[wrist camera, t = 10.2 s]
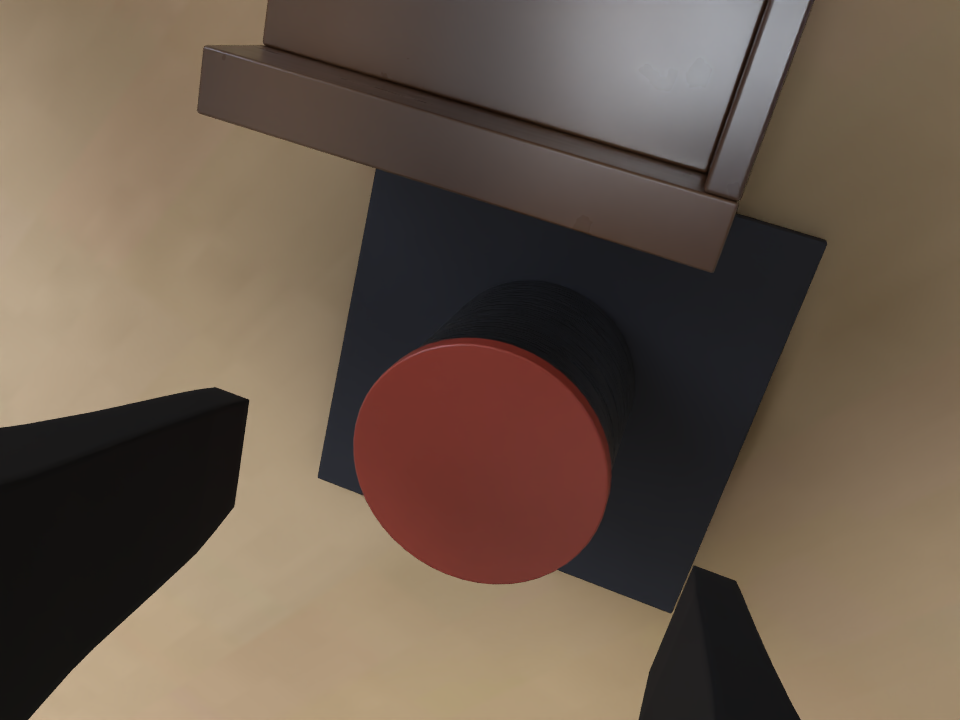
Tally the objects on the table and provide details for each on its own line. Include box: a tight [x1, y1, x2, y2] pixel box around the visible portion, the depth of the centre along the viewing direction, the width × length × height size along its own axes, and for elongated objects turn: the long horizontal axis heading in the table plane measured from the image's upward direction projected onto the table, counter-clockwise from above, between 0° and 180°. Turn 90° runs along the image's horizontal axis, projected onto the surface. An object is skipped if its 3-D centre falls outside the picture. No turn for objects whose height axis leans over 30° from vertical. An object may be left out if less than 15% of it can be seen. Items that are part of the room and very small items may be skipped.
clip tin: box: [353, 281, 635, 584], centre depth 18 cm, size 5×5×5 cm
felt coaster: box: [318, 169, 827, 613], centre depth 21 cm, size 10×10×1 cm
